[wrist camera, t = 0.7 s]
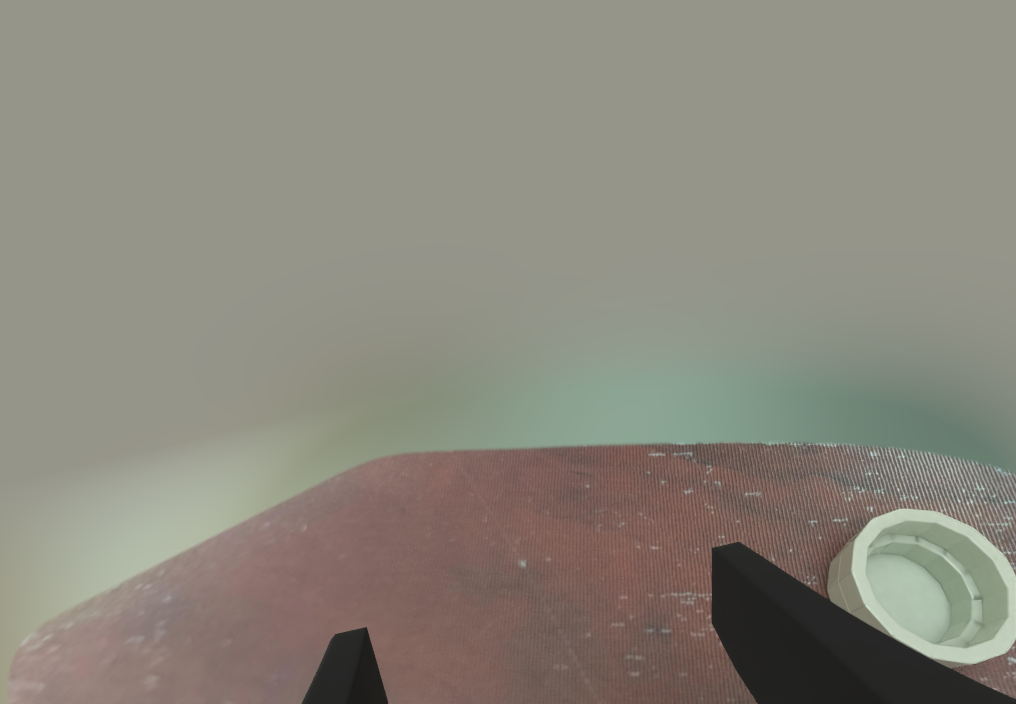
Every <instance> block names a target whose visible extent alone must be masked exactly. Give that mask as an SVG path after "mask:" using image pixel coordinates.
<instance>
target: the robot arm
mask: <svg viewBox="0 0 1016 704" xmlns="http://www.w3.org/2000/svg"><path fill="white" fill-rule="evenodd" d="M712 624H713V626H714V628H715V630H716V632H717V634H718V636H719V638H720V640H721V642H722V644H723V646H724V648H725V650H726V652H727V654H728V655H729V657H730V659H731V661H732V663H733V665H734V667H735V669H736V671H737V672H738V674H739V675H740V677H741V679H742V680H743V682H744V683H745V685H746V686H747V688H748V689H749V691H750V692H751V694H752V695H753V697H754V698H755V700H756V701H757V703H758V704H1016V699H1014V698H1011V697H1009V696H1007V695H1005V694H1002V693H1000V692H998V691H996V690H994V689H992V688H989V687H987V686H985V685H983V684H981V683H979V682H977V681H974V680H972V679H970V678H968V677H966V676H964V675H962V674H960V673H958V672H956V671H954V670H952V669H950V668H948V667H946V666H944V665H942V664H940V663H938V662H936V661H934V660H932V659H930V658H928V657H926V656H925V655H923V654H921V653H919V652H917V651H915V650H913V649H911V648H910V647H908V646H906V645H904V644H902V643H901V642H899V641H897V640H895V639H893V638H892V637H890V636H888V635H886V634H885V633H883V632H881V631H879V630H878V629H876V628H874V627H872V626H871V625H869V624H867V623H865V622H864V621H862V620H860V619H859V618H857V617H855V616H854V615H852V614H850V613H849V612H847V611H845V610H844V609H842V608H841V607H839V606H837V605H836V604H834V603H832V602H831V601H829V600H828V599H826V598H825V597H823V596H821V595H820V594H818V593H817V592H815V591H813V590H812V589H810V588H809V587H807V586H806V585H804V584H803V583H801V582H800V581H798V580H797V579H795V578H793V577H792V576H790V575H789V574H787V573H786V572H784V571H783V570H781V569H780V568H778V567H777V566H775V565H774V564H772V563H771V562H769V561H768V560H766V559H765V558H763V557H762V556H760V555H759V554H757V553H756V552H754V551H753V550H751V549H750V548H748V547H746V546H745V545H743V544H742V543H740V542H736V543H732V544H728V545H723V546H719V547H714V548H712ZM302 704H388V700H387V697H386V693H385V690H384V686H383V683H382V679H381V676H380V672H379V669H378V665H377V662H376V658H375V655H374V651H373V648H372V644H371V641H370V637H369V633H368V630H367V627H365V628H361V629H356V630H352V631H348V632H343V633H339V634H335V635H334V637H333V638H332V639H331V641H330V643H329V645H328V648H327V650H326V652H325V655H324V657H323V659H322V661H321V664H320V666H319V668H318V670H317V672H316V675H315V677H314V679H313V681H312V683H311V685H310V687H309V690H308V692H307V694H306V696H305V698H304V700H303V702H302Z"/></svg>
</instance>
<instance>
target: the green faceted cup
mask: <svg viewBox="0 0 1016 704" xmlns="http://www.w3.org/2000/svg"><path fill="white" fill-rule="evenodd" d="M827 592H828V595H829V598H830V600H831V602H832V603H834V604H836V605H837V606H839V607H841V608H842V609H844V610H845V611H847V612H849V613H850V614H852V615H854V616H855V617H857V618H859V619H860V620H862V621H864V622H865V623H867V624H869V625H871V626H872V627H874V628H876V629H878V630H879V631H881V632H883V633H885V634H886V635H888V636H890V637H892V638H893V639H895V640H897V641H899V642H901V643H902V644H904V645H906V646H908V647H910V648H911V649H913V650H915V651H917V652H919V653H921V654H923V655H925V656H926V657H928V658H930V659H932V660H934V661H936V662H938V663H940V664H942V665H944V666H946V667H948V668H956V667H961V666H967V665H973V664H977V663H980V662H983V661H985V660H988V659H991V658H994V657H997V656H1000V655H1003V654H1005V653H1006V652H1008V651H1009V649H1010V648H1011V646H1012V645H1013V643H1014V642H1015V641H1016V575H1015V573H1014V571H1013V569H1012V567H1011V566H1010V564H1009V562H1008V560H1007V558H1006V557H1005V556H1004V554H1003V553H1002V552H1000V551H999V550H998V549H997V548H996V547H995V546H994V545H993V544H991V543H990V542H989V541H988V540H987V539H986V538H985V537H984V536H983V535H981V534H980V533H979V532H978V531H977V530H976V529H973V527H971V526H969V525H966V524H964V523H962V522H960V521H958V520H955V519H953V518H951V517H949V516H946V515H944V514H942V513H940V512H936V511H927V510H916V509H904V508H902V509H898V510H895V511H892V512H889V513H886V514H883V515H881V516H878V517H875V518H873V519H871V520H870V521H869V522H868V523H867V524H866V525H865V526H864V527H863V528H862V529H861V530H860V531H858V532H857V534H855V535H854V536H853V537H852V538H851V539H850V540H849V541H848V542H847V543H846V544H845V545H844V546H843V547H842V549H841V550H840V551H839V552H838V554H837V555H836V556H835V557H834V559H833V560H832V561H831V563H830V567H829V575H828V584H827Z"/></svg>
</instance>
